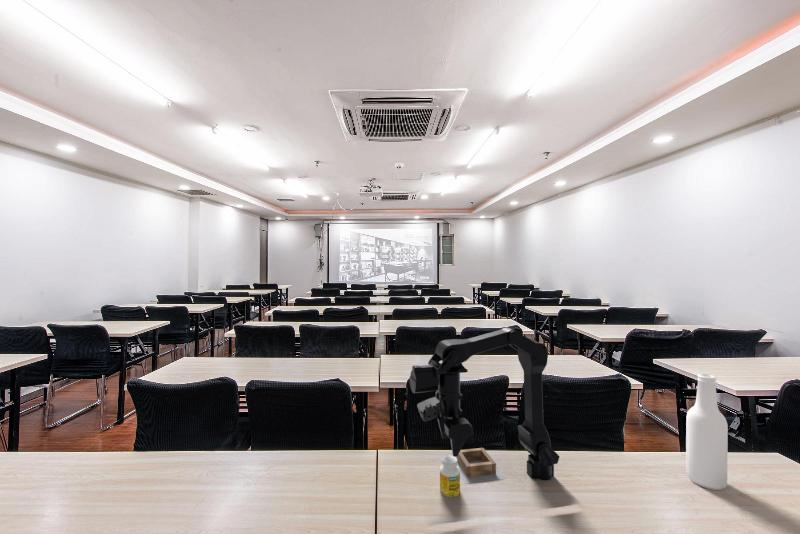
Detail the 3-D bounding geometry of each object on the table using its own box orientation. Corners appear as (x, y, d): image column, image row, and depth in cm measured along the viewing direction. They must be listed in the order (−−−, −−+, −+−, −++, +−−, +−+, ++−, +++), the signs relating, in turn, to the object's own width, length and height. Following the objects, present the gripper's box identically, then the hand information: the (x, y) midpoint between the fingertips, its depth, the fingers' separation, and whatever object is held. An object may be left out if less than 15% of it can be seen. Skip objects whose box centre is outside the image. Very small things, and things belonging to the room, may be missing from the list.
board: (484, 456, 113) (484, 452, 113) (505, 482, 99) (505, 478, 99) (448, 460, 111) (448, 456, 111) (464, 487, 97) (464, 483, 97)
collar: (483, 457, 110) (483, 447, 110) (495, 473, 101) (495, 463, 101) (456, 460, 108) (456, 450, 108) (466, 477, 100) (466, 466, 100)
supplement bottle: (450, 486, 98) (450, 451, 98) (464, 496, 93) (464, 460, 93) (435, 493, 95) (435, 457, 95) (449, 504, 90) (448, 467, 90)
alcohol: (692, 468, 106) (693, 369, 105) (731, 484, 98) (732, 377, 98) (680, 478, 101) (681, 374, 100) (721, 495, 93) (721, 382, 93)
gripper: (412, 379, 102) (412, 433, 102) (428, 405, 83) (429, 470, 84) (449, 377, 104) (449, 429, 104) (473, 401, 85) (473, 465, 86)
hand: (449, 447), depth 94 cm, fingers open, 9 cm apart
